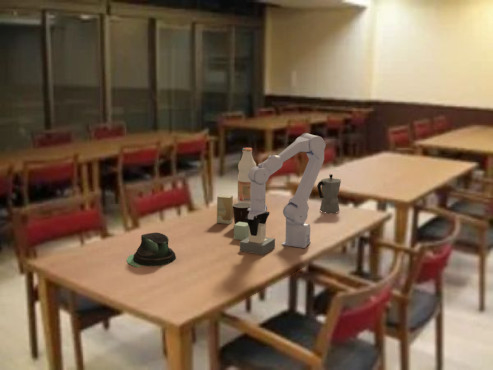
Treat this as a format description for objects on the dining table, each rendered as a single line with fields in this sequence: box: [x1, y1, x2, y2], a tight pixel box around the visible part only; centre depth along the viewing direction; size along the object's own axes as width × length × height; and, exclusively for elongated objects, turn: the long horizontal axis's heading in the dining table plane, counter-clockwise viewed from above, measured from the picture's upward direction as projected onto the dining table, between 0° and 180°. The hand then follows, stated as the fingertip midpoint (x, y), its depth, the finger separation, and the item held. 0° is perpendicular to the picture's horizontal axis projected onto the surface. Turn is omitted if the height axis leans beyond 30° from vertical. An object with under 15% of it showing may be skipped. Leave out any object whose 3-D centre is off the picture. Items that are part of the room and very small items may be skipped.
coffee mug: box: [232, 202, 250, 225], centre depth 252 cm, size 12×9×10 cm
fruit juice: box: [237, 147, 257, 203], centre depth 290 cm, size 9×9×28 cm
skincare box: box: [216, 194, 234, 225], centre depth 260 cm, size 6×4×12 cm
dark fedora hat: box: [126, 232, 177, 269], centre depth 215 cm, size 20×20×9 cm
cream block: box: [249, 223, 267, 243], centre depth 226 cm, size 5×5×6 cm
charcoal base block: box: [239, 236, 276, 256], centre depth 227 cm, size 10×10×4 cm
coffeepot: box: [316, 174, 342, 214], centre depth 278 cm, size 15×9×18 cm, turn 129°
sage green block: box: [233, 222, 249, 241], centre depth 240 cm, size 5×5×6 cm
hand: (257, 232), depth 226 cm, fingers open, 7 cm apart
